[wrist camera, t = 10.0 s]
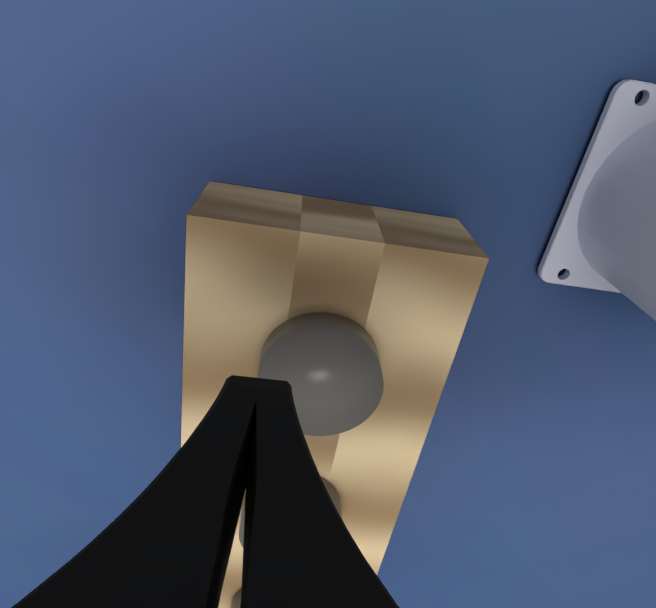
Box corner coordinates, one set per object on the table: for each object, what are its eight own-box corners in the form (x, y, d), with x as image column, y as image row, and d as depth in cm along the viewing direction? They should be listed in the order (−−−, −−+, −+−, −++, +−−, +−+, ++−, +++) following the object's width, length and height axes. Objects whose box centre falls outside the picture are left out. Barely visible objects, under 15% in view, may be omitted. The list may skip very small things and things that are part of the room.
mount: (209, 181, 19) (186, 215, 15) (457, 218, 20) (489, 258, 16) (191, 579, 31) (176, 648, 28) (343, 588, 32) (348, 656, 29)
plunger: (378, 278, 20) (396, 344, 16) (357, 363, 22) (369, 441, 18) (273, 264, 20) (262, 327, 15) (262, 352, 22) (250, 429, 17)
